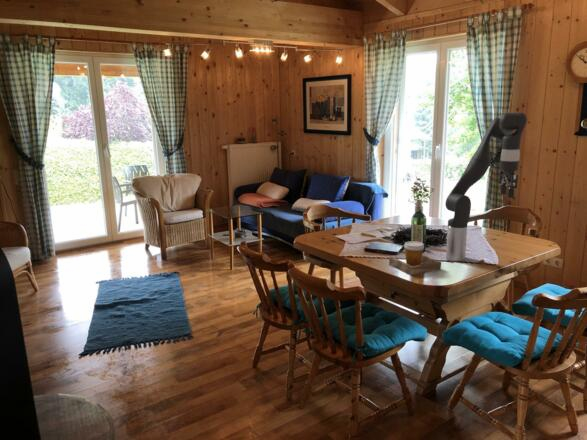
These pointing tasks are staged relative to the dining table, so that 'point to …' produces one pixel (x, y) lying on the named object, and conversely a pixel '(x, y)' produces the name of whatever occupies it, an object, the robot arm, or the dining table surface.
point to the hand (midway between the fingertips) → (506, 195)
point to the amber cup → (413, 252)
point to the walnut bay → (426, 266)
